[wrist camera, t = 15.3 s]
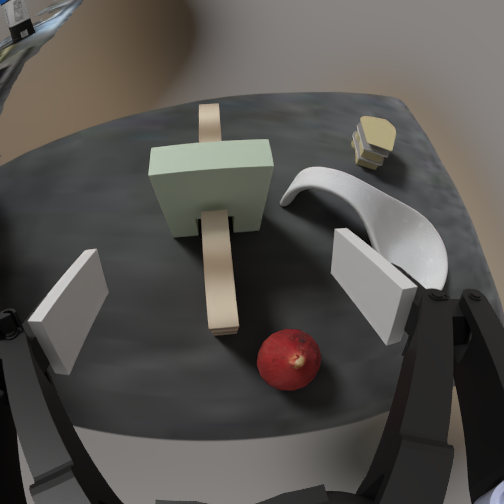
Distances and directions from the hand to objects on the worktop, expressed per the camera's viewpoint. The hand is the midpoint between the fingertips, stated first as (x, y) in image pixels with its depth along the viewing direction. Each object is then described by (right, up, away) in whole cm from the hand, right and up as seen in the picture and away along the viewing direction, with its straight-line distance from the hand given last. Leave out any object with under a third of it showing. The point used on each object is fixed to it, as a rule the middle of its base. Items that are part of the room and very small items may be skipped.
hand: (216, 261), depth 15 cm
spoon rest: (+16, +2, +19) cm, 25 cm away
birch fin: (-2, +4, +18) cm, 19 cm away
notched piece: (-2, +4, +18) cm, 19 cm away
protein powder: (-104, +101, +48) cm, 153 cm away
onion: (+5, -11, +13) cm, 18 cm away
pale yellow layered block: (+20, +16, +25) cm, 36 cm away
